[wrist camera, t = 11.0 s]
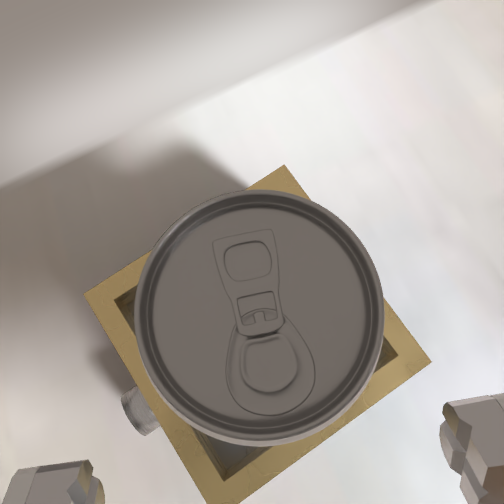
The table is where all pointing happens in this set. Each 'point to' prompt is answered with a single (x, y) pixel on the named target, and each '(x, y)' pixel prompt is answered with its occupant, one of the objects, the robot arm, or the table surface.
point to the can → (259, 317)
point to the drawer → (209, 448)
